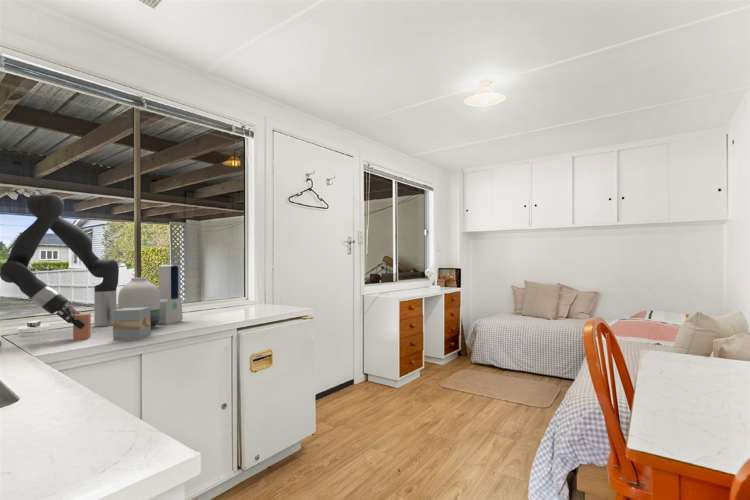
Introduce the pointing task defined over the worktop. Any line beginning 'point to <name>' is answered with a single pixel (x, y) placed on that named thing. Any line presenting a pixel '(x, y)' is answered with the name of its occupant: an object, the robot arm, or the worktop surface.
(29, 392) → the worktop surface
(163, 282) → the electronic device
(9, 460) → the worktop surface
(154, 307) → the vase
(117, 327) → the tower slab middle
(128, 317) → the tower slab top
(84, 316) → the pillar
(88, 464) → the worktop surface
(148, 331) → the tower slab bottom
